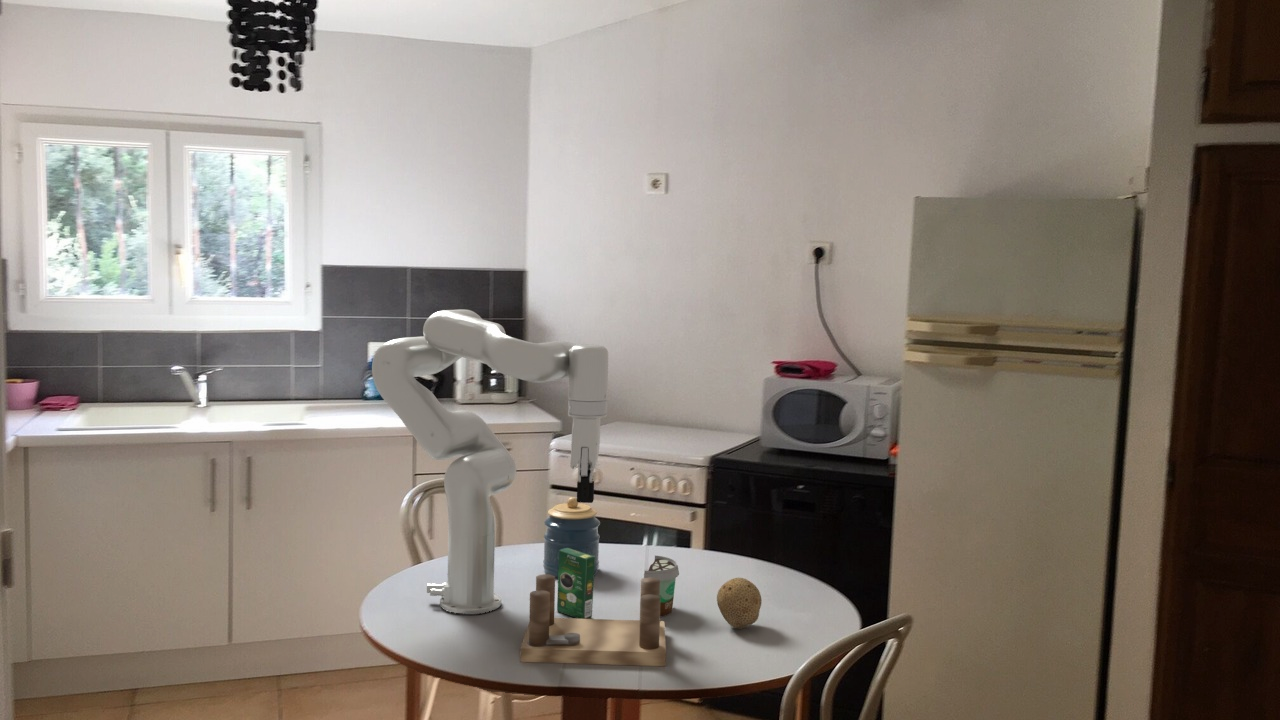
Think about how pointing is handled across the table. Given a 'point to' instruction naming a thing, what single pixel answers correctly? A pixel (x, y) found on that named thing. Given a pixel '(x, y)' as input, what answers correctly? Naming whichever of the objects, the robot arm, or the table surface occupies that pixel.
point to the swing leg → (545, 622)
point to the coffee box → (575, 583)
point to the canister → (570, 533)
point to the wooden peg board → (604, 634)
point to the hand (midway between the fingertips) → (585, 501)
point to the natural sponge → (739, 602)
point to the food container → (664, 581)
